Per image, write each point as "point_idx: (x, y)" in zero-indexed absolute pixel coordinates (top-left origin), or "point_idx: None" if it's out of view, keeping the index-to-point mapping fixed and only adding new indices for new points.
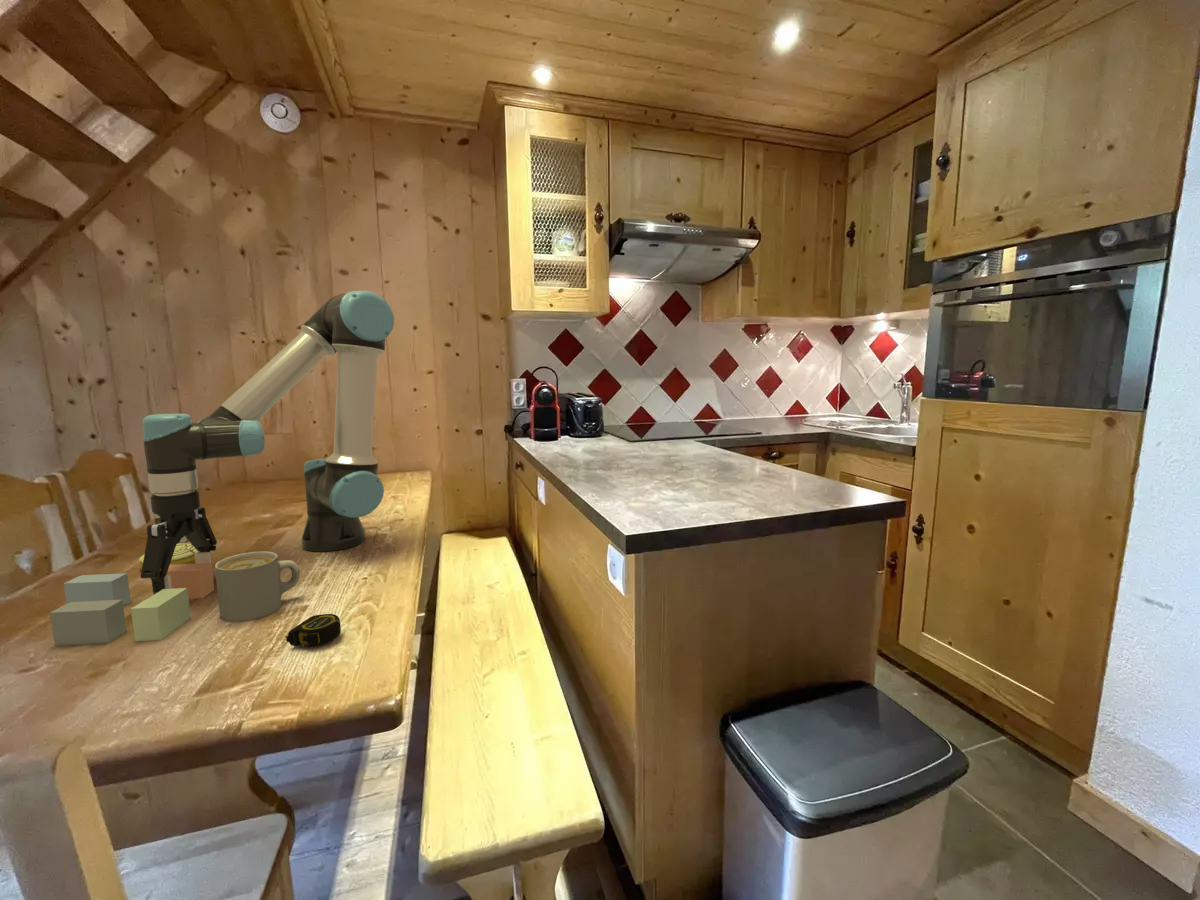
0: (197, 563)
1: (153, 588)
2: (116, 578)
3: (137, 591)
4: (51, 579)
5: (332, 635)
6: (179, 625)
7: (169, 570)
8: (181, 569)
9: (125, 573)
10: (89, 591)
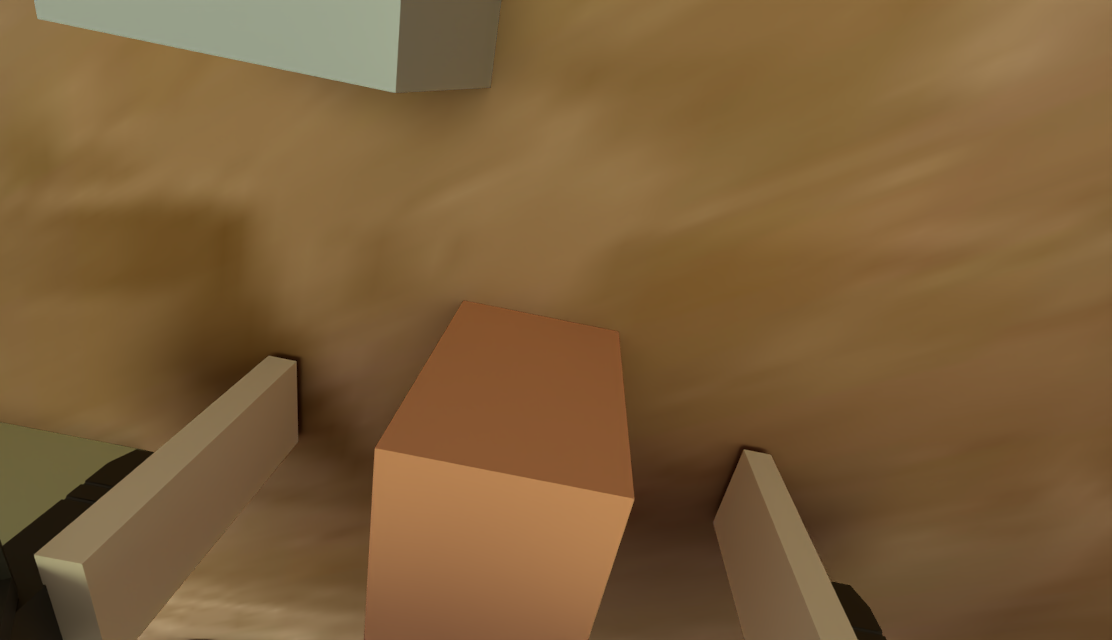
0: (792, 597)
1: (77, 494)
2: (162, 36)
3: (758, 22)
4: None
5: None
6: None
7: (407, 557)
8: (417, 636)
9: (395, 65)
10: None
